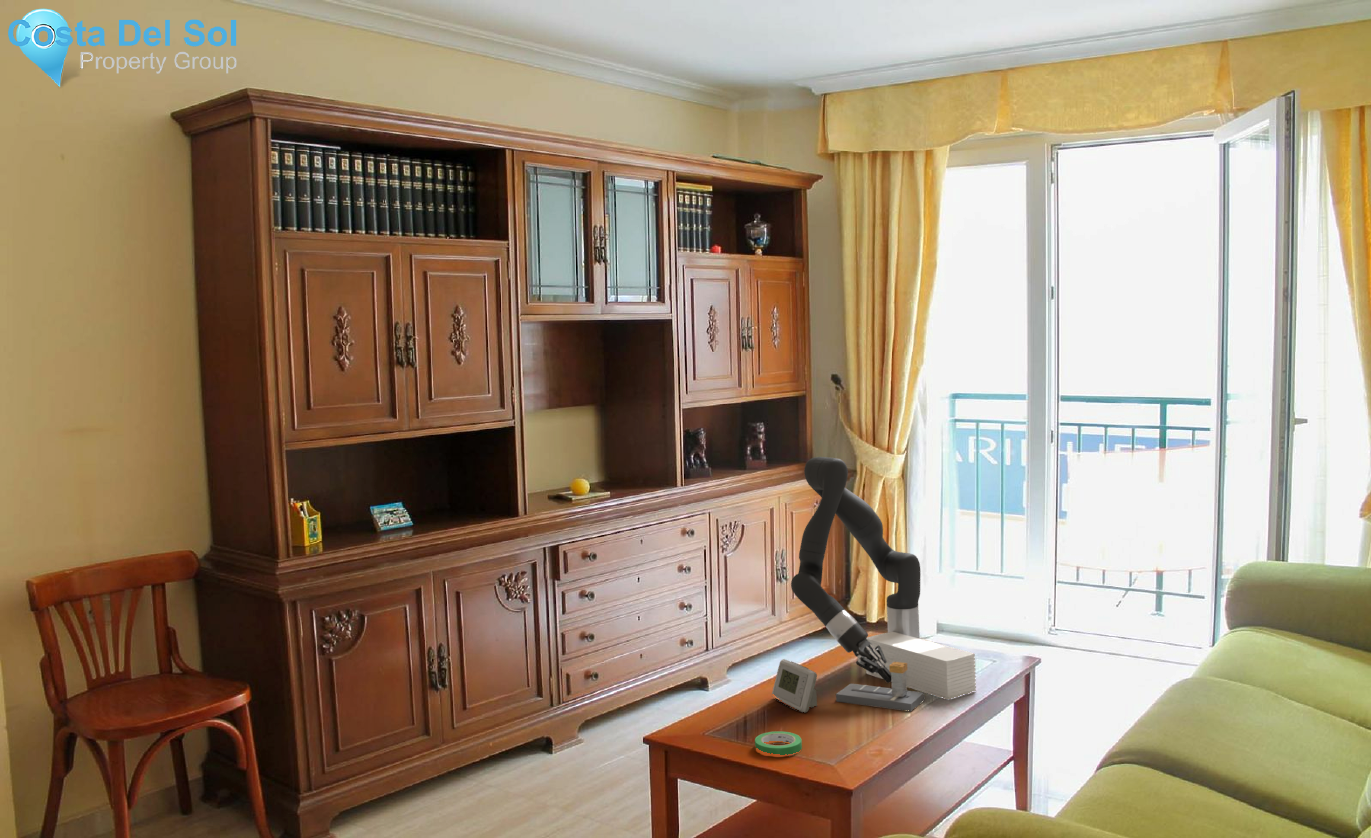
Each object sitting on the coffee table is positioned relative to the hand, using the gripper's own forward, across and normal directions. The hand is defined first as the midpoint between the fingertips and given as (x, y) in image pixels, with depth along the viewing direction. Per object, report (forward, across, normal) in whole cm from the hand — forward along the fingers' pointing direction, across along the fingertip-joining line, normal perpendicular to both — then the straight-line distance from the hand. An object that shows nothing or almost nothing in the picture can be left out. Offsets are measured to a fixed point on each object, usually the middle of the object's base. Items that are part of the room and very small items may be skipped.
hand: (891, 680), depth 279 cm
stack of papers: (+5, +19, +4) cm, 20 cm away
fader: (+4, 0, +1) cm, 4 cm away
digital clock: (-12, -12, +21) cm, 27 cm away
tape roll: (-4, -42, +13) cm, 44 cm away
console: (+2, 0, +7) cm, 7 cm away
